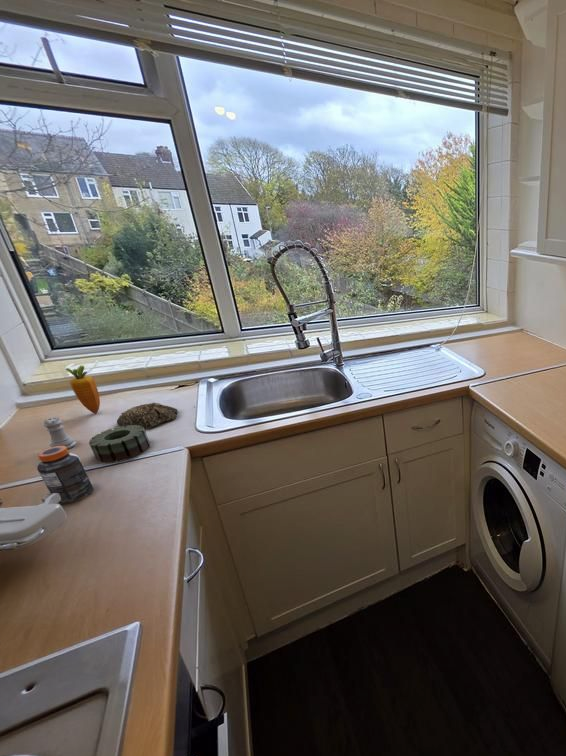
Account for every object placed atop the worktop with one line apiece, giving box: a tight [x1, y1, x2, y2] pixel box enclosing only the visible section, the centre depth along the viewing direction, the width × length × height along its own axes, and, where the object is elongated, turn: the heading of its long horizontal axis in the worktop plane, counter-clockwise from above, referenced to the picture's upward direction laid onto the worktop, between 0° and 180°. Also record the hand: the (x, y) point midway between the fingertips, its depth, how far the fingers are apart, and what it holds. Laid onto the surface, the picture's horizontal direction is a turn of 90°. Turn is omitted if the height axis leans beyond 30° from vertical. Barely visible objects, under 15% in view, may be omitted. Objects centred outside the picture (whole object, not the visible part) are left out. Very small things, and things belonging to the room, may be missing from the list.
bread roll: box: [116, 402, 179, 429], centre depth 116 cm, size 13×12×5 cm
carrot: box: [65, 364, 101, 415], centre depth 117 cm, size 5×5×15 cm
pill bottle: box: [36, 446, 95, 504], centre depth 84 cm, size 6×6×11 cm
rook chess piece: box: [42, 416, 77, 450], centre depth 101 cm, size 4×4×8 cm
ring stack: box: [88, 425, 151, 464], centre depth 101 cm, size 10×10×5 cm
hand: (26, 498), depth 77 cm, fingers open, 8 cm apart
